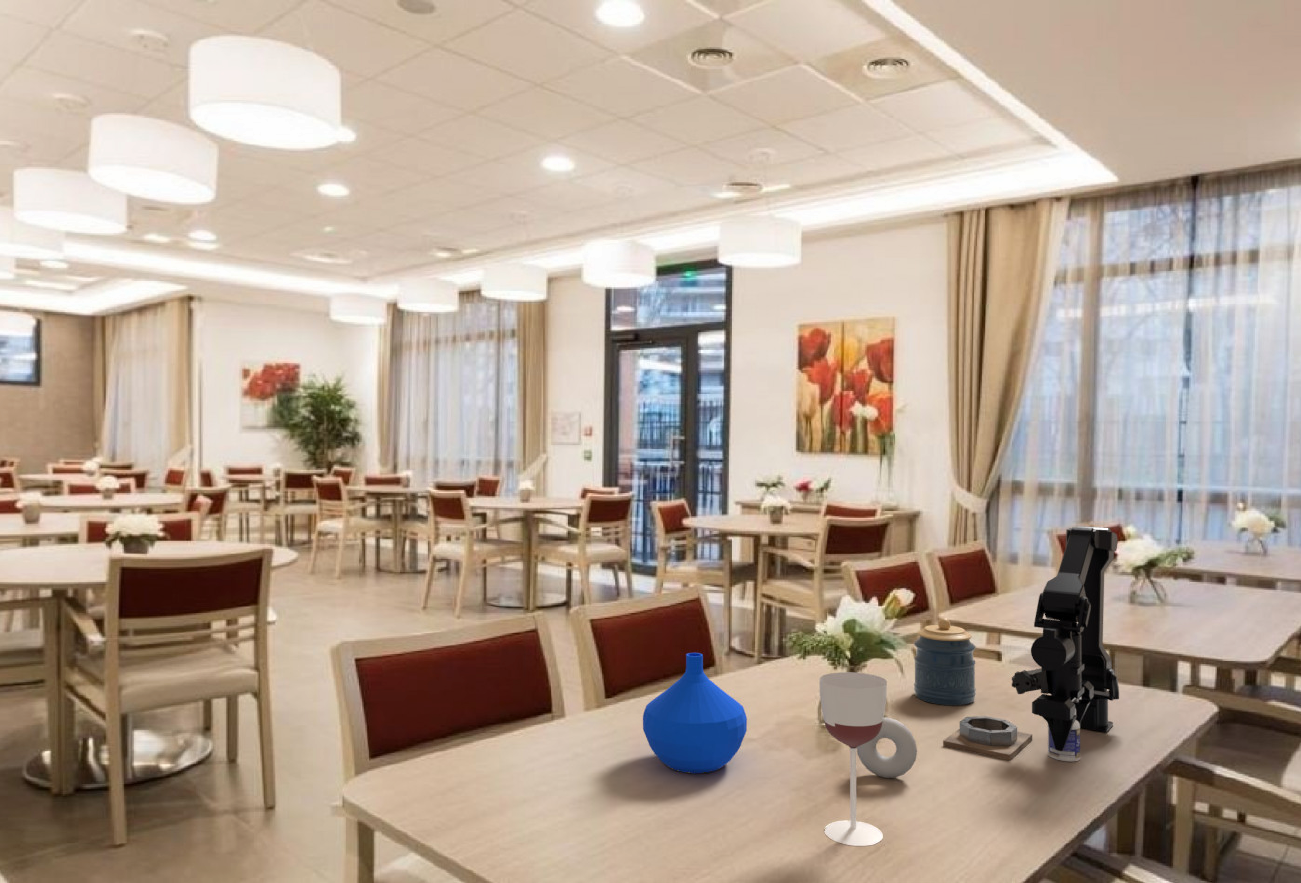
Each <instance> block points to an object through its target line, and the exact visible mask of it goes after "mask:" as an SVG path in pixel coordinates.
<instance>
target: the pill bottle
mask: <svg viewBox="0 0 1301 883" xmlns="http://www.w3.org/2000/svg"><path fill="white" fill-rule="evenodd" d="M1074 715H1076V708H1075V714H1074ZM1047 739H1048V740H1047V754H1048V756H1049V757H1050V758H1052V759H1053V760H1057V761H1061V762H1071V763H1072V762H1077V761H1079V760H1081V728H1080V724H1079V722H1078V721H1077V720H1075V722H1074V724H1073V727H1072V729H1071V732H1070V734H1069V737H1068V739H1067V742H1066V744H1065V747H1064V749H1063V751H1058V750H1056V749H1055V745H1054V742H1053V739H1052V735H1051V732H1050V728H1049V725H1048V724H1047Z"/></svg>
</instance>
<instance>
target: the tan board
mask: <svg viewBox="0 0 1301 883" xmlns="http://www.w3.org/2000/svg"><path fill="white" fill-rule="evenodd" d="M1031 741H1033V734H1031V733H1027V732H1022V731H1019V730H1017V741H1016V742H1015V743H1013V744H1012V745H1011V746H986V745H982V744H977V743H972V742H969V741H967V740H966V739H964V738H963V737H962V736H960V728H958V729H957V730H955V731H954V732H952V734H950V735H949V736H947V737H946V738H944V740H942V746H943V747H946V748H947V747H948V748H949V749H950V748H952V749H956V750H959V751H964V752H969V753H974V754H978V755H983V756H989V757H993V758H998V759H1002V760H1006V761H1011V760H1013V759H1014V757H1015V756H1017V755H1018V754H1019V753H1020V752H1022V750H1023V749H1024V748H1025V747H1026V746H1027V745H1029V743H1031Z"/></svg>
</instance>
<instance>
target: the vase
mask: <svg viewBox="0 0 1301 883" xmlns="http://www.w3.org/2000/svg"><path fill="white" fill-rule="evenodd" d="M703 654H704V653H703ZM703 654H702V653H700V652H689V653H686V654H685V658H686V659H685V672H684V673H683V675H682V676H681V677H680V678H679V679H678V680H676V681H675V682H674V683H673V684H672V685H671V686H669V687H668V688H667V689H666V690H664V691H663V692H661V693H660V694H659V695H658V696H656V697H655V698H654V699H652V700H651V701H649V702H648V703H647V704H646V705H645V708H644V712H643V714H642V730H643V733H644V735H645V738H646V740H647V742H648V746H649V748H650V749H651V750H652V752H653V754H654V755H655V756H656V757H657V758H658V760H659V761H661V763H663V764H665V765H666V766H667V767H668V766H669V767H668V768H670V769H671V768H673V769H672V770H674V769H675V771H676V770H679V771H678V772H680V771H682V772H681V773H685V772H690V773H689V774H704V773H703V772H707V773H711V772H710V771H712V772H715V771H718V770H720V769H721V768H723V767H724V766H725V765H726V764H728V763H729V762H731V760H732V759H733V758H734V757H735V756H736V754H737V752H738V751H739V750H740V748H741V745H742V743H743V741H744V738H745V735H746V733H747V731H748V730H747V725H748V722H747V721H748V718H747V717H748V716H747V713H746V711H745V709H744V706H743V705H742V704H741V703H739V701H737V700H736V699H735V698H734V697H732V696H731V695H729V694H728V693H727V692H725V691H724V690H723V689H721V688H720V687H719V686H718V685H716V684H715V683H714V682H713V681H712V680H711V679H709V677H708V676H707V674H705V672H704V667H703V666H704V662H703V661H704V656H703ZM717 769H718V770H717Z"/></svg>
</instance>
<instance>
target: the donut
mask: <svg viewBox="0 0 1301 883" xmlns="http://www.w3.org/2000/svg"><path fill="white" fill-rule="evenodd" d="M882 739H888V740H891V741H892V742H893V743H894V745H895V748H896V749H895V753H894V754H893V755H891V756H885V755H884V756H883V755H882V754H880V752H879V751H878V749H877V744H878V743H879V741H880V740H882ZM856 755H857V756H858V758H859V760H860V762H861V764H862V765H863V766H864V768H866V769H867V770H868V771H869V772H871V773H872V774H874V775H875V776H878V777H881V778H885V779H891V778H892V779H894V778H895V779H896V778H898V777H901V776H904V775H905V774H906V773H908V771H910V770H911V769H912V767H913V765H914V764H915V762H916V759H917V755H918V748H917V742H916V739H915V737H914V735H913V732H912V731H911V730H910V729H909V728H908V727H907V726H906V725H905V724H904V723H902V722H900V721H899V720H897V719H895V718H890V717H886V716H884V717H883V723H882V727H881V730H880V732H879V734H878V735H877V736H876V737H875V738H874V739H872V740H871V741H869V742H867V743H865V744H862V745H860V746H858V747H857V748H856Z"/></svg>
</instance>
